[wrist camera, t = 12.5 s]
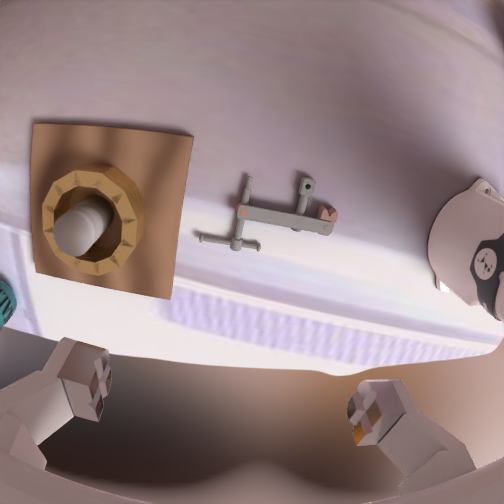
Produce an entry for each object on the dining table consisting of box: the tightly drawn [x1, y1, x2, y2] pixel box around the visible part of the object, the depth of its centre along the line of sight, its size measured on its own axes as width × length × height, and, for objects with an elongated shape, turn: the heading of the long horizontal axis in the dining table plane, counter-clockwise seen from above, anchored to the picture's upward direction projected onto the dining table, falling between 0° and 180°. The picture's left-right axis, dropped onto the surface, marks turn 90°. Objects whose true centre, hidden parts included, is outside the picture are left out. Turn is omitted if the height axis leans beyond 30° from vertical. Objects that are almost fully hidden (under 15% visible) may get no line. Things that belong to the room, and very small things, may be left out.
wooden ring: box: [42, 163, 147, 276], centre depth 31 cm, size 12×12×4 cm
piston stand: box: [30, 123, 194, 300], centre depth 31 cm, size 20×20×8 cm
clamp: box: [199, 176, 338, 251], centre depth 36 cm, size 15×2×10 cm
